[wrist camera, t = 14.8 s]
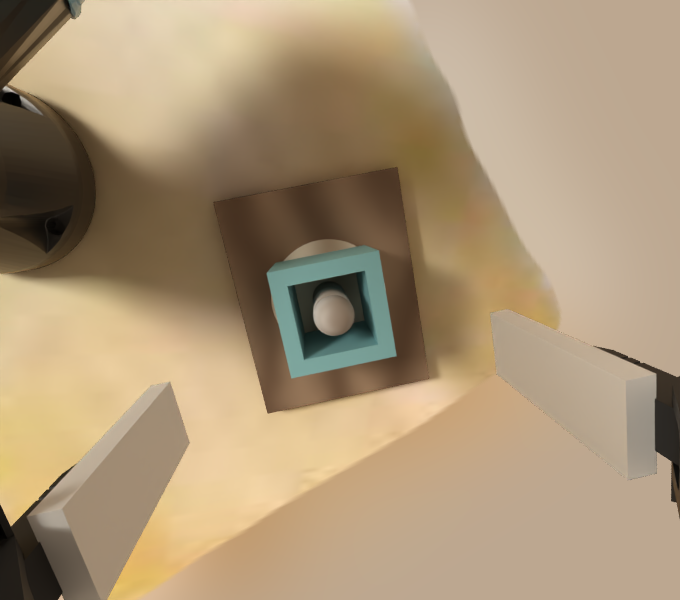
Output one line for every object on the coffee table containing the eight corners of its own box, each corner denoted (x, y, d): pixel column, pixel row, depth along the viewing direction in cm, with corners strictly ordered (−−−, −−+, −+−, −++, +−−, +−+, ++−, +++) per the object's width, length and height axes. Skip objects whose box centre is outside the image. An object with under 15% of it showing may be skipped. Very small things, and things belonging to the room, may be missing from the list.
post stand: (269, 406, 37) (254, 471, 27) (217, 203, 33) (179, 194, 23) (424, 372, 38) (464, 424, 28) (393, 169, 34) (427, 147, 24)
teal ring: (294, 347, 34) (291, 378, 27) (275, 262, 33) (266, 273, 26) (379, 330, 35) (396, 356, 28) (364, 245, 33) (378, 250, 26)
